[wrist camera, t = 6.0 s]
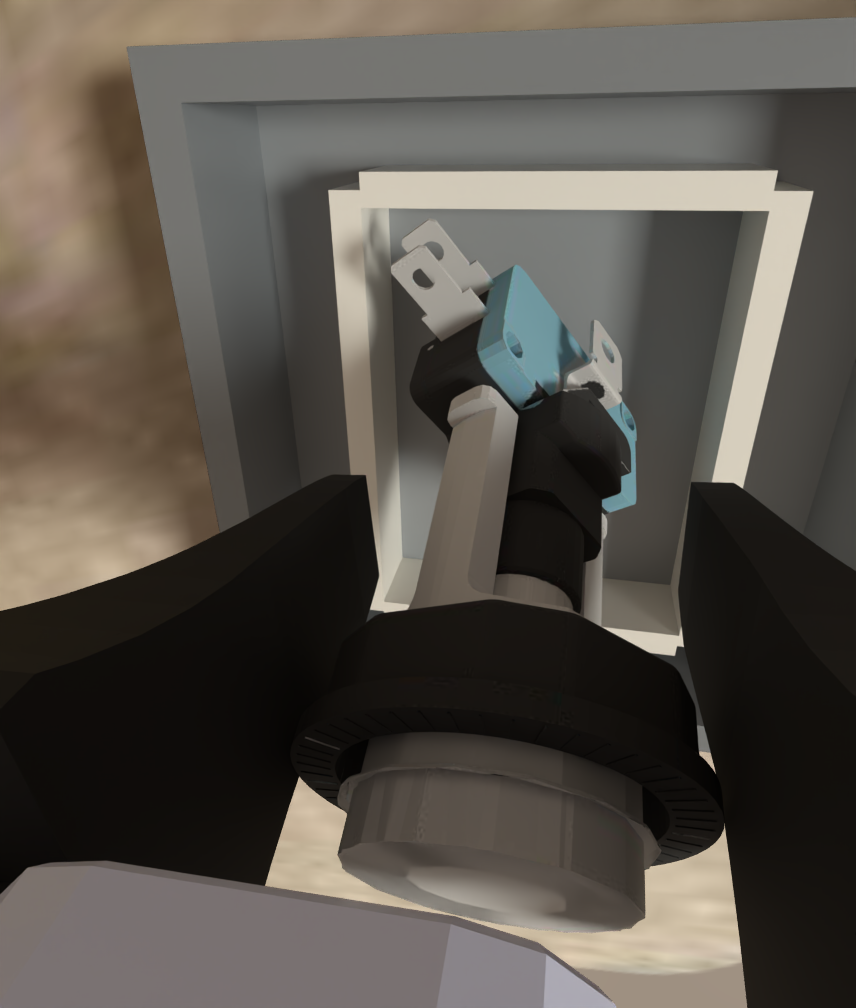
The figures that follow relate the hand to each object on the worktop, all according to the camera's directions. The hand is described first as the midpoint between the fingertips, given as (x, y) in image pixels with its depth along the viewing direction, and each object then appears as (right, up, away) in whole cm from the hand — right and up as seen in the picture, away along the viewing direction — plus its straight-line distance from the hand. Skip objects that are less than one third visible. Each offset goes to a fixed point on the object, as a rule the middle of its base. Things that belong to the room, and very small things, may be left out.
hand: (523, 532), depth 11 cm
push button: (0, +4, +3) cm, 5 cm away
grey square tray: (+1, +3, +5) cm, 6 cm away
